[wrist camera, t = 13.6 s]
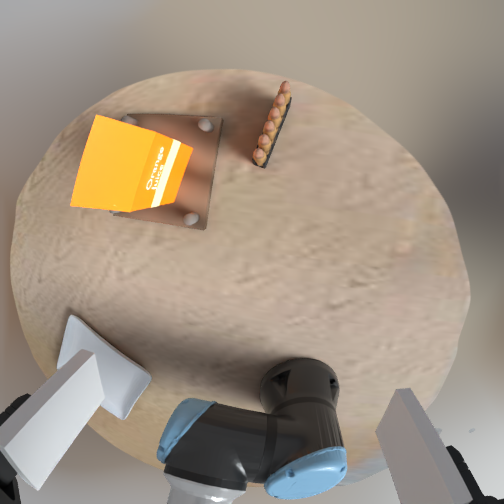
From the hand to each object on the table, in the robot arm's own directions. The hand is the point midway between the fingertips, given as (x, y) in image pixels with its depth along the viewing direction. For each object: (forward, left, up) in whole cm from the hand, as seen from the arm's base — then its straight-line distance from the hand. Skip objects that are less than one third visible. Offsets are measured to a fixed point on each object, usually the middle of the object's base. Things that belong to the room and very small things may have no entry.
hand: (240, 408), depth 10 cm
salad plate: (-34, +30, -34) cm, 57 cm away
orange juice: (+9, +17, -33) cm, 38 cm away
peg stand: (+9, +17, -34) cm, 39 cm away
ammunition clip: (+16, +1, -34) cm, 38 cm away
